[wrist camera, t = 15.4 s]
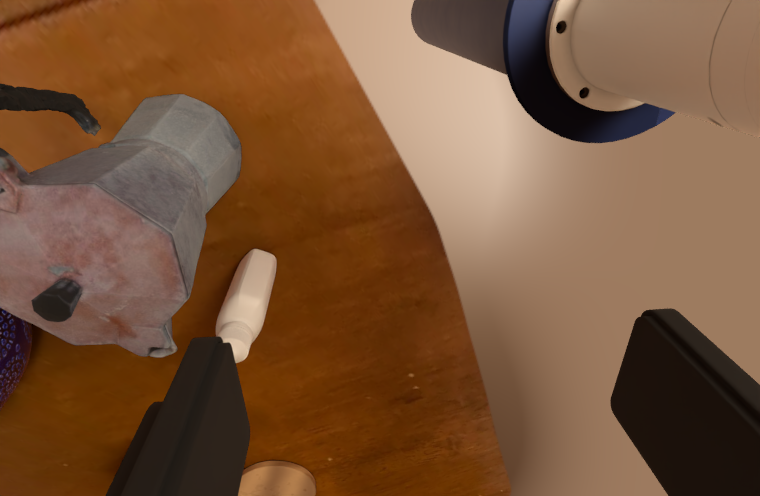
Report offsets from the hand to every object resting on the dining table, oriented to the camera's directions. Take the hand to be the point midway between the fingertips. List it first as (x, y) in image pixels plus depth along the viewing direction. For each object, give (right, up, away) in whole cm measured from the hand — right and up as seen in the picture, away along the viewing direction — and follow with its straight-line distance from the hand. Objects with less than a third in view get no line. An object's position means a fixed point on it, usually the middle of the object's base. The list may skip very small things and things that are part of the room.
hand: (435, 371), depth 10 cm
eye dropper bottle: (-13, +1, +31) cm, 34 cm away
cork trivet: (-14, -27, +45) cm, 55 cm away
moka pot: (-17, +11, +25) cm, 32 cm away
